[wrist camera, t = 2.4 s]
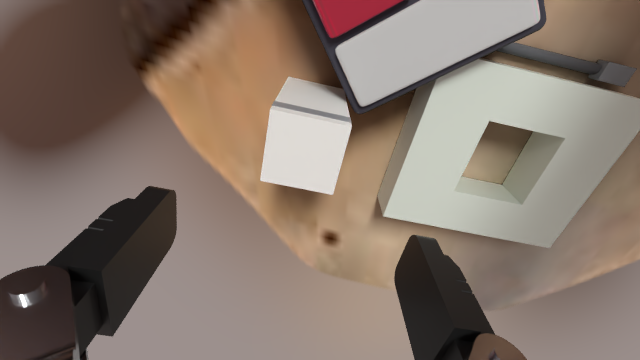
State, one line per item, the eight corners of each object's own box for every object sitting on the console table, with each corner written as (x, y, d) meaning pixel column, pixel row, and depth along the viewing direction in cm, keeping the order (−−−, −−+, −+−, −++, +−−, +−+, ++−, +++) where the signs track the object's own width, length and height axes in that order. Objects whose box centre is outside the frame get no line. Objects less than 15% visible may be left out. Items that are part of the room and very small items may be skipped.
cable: (451, 21, 20) (456, 22, 19) (625, 66, 21) (636, 68, 20) (443, 41, 20) (448, 43, 20) (613, 84, 21) (624, 87, 21)
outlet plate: (431, 46, 20) (447, 51, 18) (619, 92, 22) (660, 103, 19) (377, 195, 26) (382, 216, 24) (528, 225, 27) (549, 248, 25)
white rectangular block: (288, 76, 22) (269, 108, 15) (344, 88, 22) (352, 126, 15) (279, 129, 24) (259, 180, 17) (331, 140, 24) (332, 195, 17)
